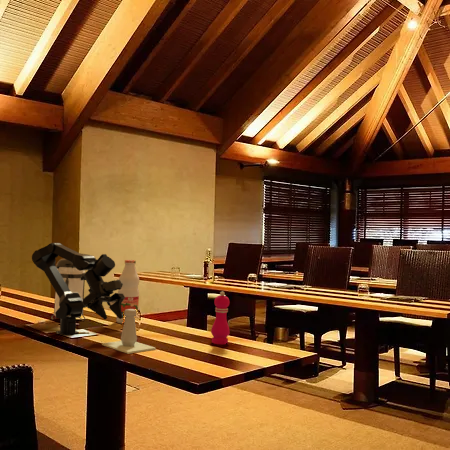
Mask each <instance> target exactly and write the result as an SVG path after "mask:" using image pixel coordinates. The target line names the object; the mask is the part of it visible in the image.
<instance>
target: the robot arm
mask: <svg viewBox="0 0 450 450" xmlns="http://www.w3.org/2000/svg"><path fill="white" fill-rule="evenodd" d="M58 257H60V258H61V259H66V260H68V261H70V262H71V263H72V264H73V266H74V267H75V268H76V269H78V270H80V271H81V270H85V272H86V273H82V277H81V280H85V281H86V283H87V285H88V288H89V289H88V292H89V294H87V295H86V296H84V299H83V300H82V299H81V297H80V295H79V294H78V293H72V292H71V291H70V289H69V288H68V286H67V284H66V283H65V281H64V279H63V278H62V276H61V274H60V273H59V271H58V269H57V268H56V264H57V263H56V261H57V260H56V259H57V258H58ZM31 260H32V263H33V264H34V265H35V266H36V268H38V269H39V270H41V271H42V272H44V274H45V275H46V277H47V280H48V281H49V282H50V284H51V286H52V288H53V289H54V292H55V291H56V293H57V295H58V296H59V298H60V300H59V306H60V308H59V309H58V310H57V311H56V312H55V314H56V316H55V317H56V318H55V319H60V323H59V324H60V325H59V330H56V333H57V334H60V335H63V336H67V335H76V334H78V335H79V334H80V333H79V331H76V329H77V328H76V327H77V318H76V317H80V318H82V316H81V314H82V311H83V312H84V308H83V307H86V308H87V309H89V310H91V311H92V312H93V313H95V314H96V315H98V316H100V317H101V318H102V319H103V320H105V321H106V320H107V319H108V316H107V313H106V310H105V308H104V305H103V303H106V304H107V306H108V309H110V311H112V313H114V315H115V316H116V318H117V317H118V318H119V319H121V318H122V311H121V303H122V301H123V300H124V299H125V297H124V295H123V294H122V293H118V292H115V291H118V289H119V290H120V289H121V288H122V285H123V284H122V282H121V281H120V280H119V279H116V280H110V281H104V277H106V276H107V275H108V274H109V273H110V272H111V271H113V269H115V267H116V263H115V261H114V260H113V259H112V258H111V257H110V256H108V255H107V254H106V253H102V254H100V256H99V257H98V258H97V259H96V257H95V256H94V255H93V254H86V253H80V252H78V251H76V250H74V249H72V248H69V247H68V246H65V245H64V244H62V243H61V242H50V243H49V244H47V245H46V246H43V247H41V248H39V249H37V250H34V251H33V253H32V255H31ZM90 292H91V293H90ZM114 292H115V293H114ZM82 301H83V302H82ZM55 314H54V315H55Z"/></svg>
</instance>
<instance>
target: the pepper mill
mask: <svg viewBox="0 0 450 450" xmlns="http://www.w3.org/2000/svg"><path fill="white" fill-rule="evenodd" d="M213 301H214V303H213V304H214V306H215V308H214V309H215V310H214V312H215V318H214V322H213V324H212V326H211V329H210V330H211V331H210V333H211V335H212V338H211V343H212V344H214V345H227V344H228V343H229V338H228V336H229V335H230V332H231V331H230V326H229V324H228V319H227V313H228V312H229V308H228V307H230V303H231V302H230V299H229V297H228V296H226V294H225V291H220V292H219V295H217V296H216V297H215V298H214V300H213ZM226 343H227V344H226Z"/></svg>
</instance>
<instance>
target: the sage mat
mask: <svg viewBox="0 0 450 450" xmlns="http://www.w3.org/2000/svg"><path fill="white" fill-rule="evenodd" d="M101 345H102V346H104V347H107V348H110V349H113V350H115V351H118V352H122V353H125V354H128V355H129V354H133V353H134V354H135V353H142V352H147V351H148V352H149V351H154V350H157V347H154V346H152V345H148V344H145V343H141V342H138V341H136V343H135V344H134V346H130V347H127V346H123V344H122V341H121V340H117V341H116V340H115V341H108V342H102V343H101Z"/></svg>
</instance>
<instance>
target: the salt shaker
mask: <svg viewBox="0 0 450 450" xmlns="http://www.w3.org/2000/svg"><path fill="white" fill-rule="evenodd" d="M124 315H125V316H126V317H125V322H124V324H123V327H122V330H121V336H120V341H122V344H123V346H127V347H130V346H134V344H135V343H136V342H138V341H137V340H138V336H137V329H136V323H135V318H134V316H136V310H134V309H126V310H125V311H124Z"/></svg>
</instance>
